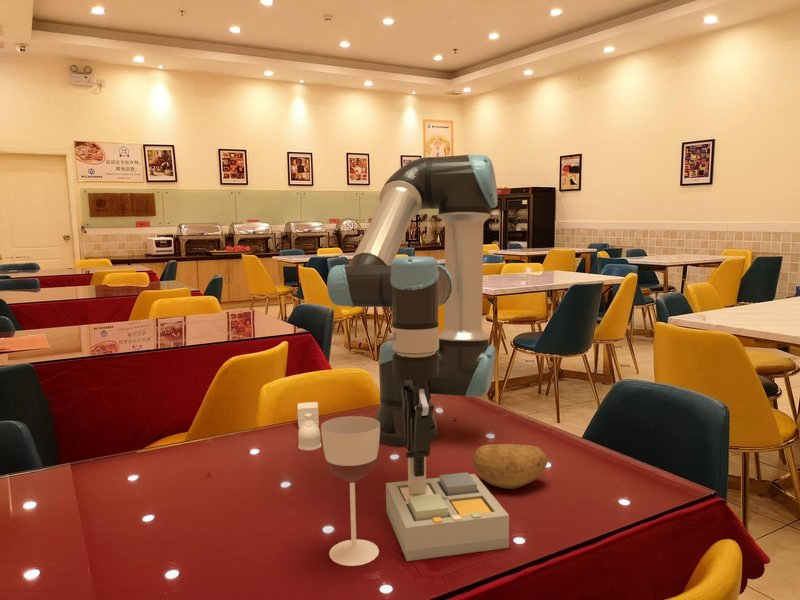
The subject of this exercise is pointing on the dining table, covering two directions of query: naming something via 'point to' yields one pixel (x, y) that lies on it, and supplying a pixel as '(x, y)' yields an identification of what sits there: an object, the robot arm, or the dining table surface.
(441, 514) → the key sage
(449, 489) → the key slate
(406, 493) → the key ivory
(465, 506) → the key amber
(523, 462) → the potato
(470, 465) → the dining table surface
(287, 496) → the dining table surface
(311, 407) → the container set
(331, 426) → the wineglass
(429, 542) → the keypad
